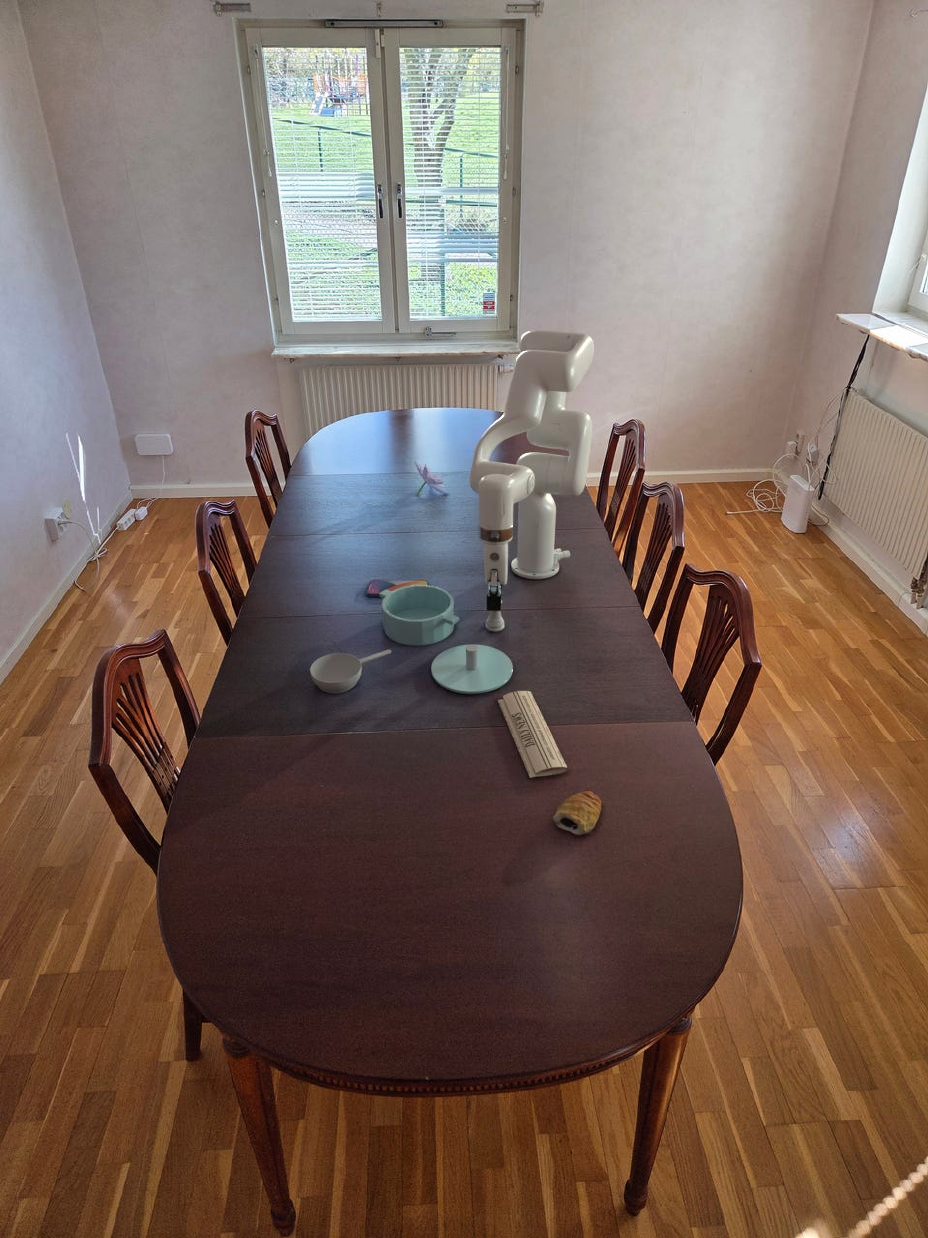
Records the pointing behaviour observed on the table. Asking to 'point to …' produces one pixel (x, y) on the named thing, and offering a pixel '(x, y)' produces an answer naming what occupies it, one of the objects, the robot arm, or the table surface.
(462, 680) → the lid
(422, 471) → the water lily
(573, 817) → the pastry
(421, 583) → the smartphone
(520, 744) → the newspaper
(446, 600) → the pot
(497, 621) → the rook chess piece
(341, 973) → the table surface
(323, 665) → the saucepan
